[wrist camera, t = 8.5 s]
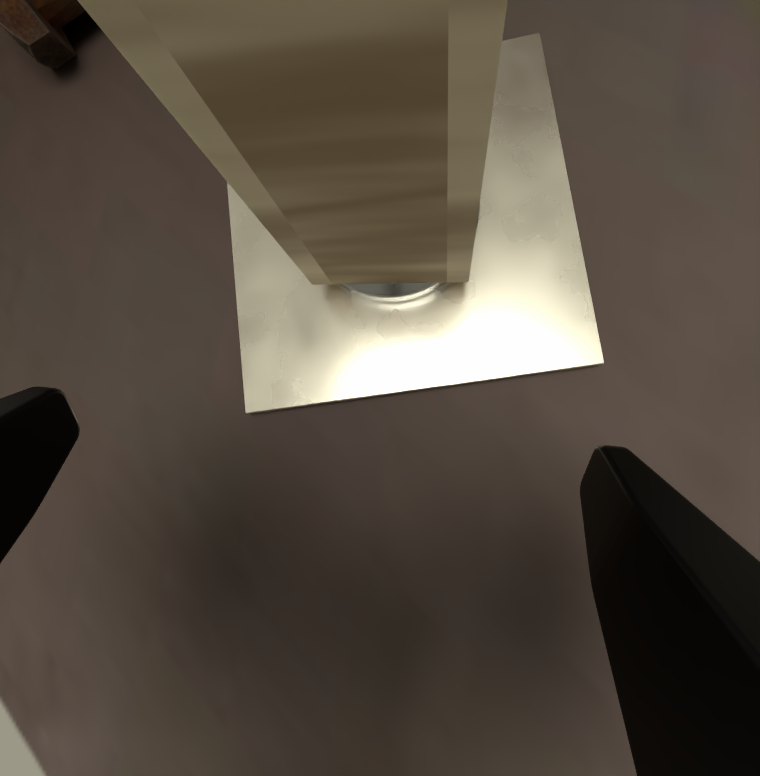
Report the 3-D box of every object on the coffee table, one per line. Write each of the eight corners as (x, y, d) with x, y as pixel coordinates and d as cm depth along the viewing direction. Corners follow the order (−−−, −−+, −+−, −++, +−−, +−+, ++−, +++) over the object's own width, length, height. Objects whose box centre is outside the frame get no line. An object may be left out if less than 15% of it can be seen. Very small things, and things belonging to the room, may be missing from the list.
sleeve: (468, 281, 17) (519, -85, 5) (312, 284, 18) (55, -25, 6) (470, 132, 18) (518, -482, 6) (320, 142, 19) (104, -379, 7)
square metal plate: (598, 365, 18) (668, 329, 12) (251, 413, 19) (174, 401, 14) (536, 44, 20) (572, -112, 14) (227, 115, 21) (150, -1, 16)
